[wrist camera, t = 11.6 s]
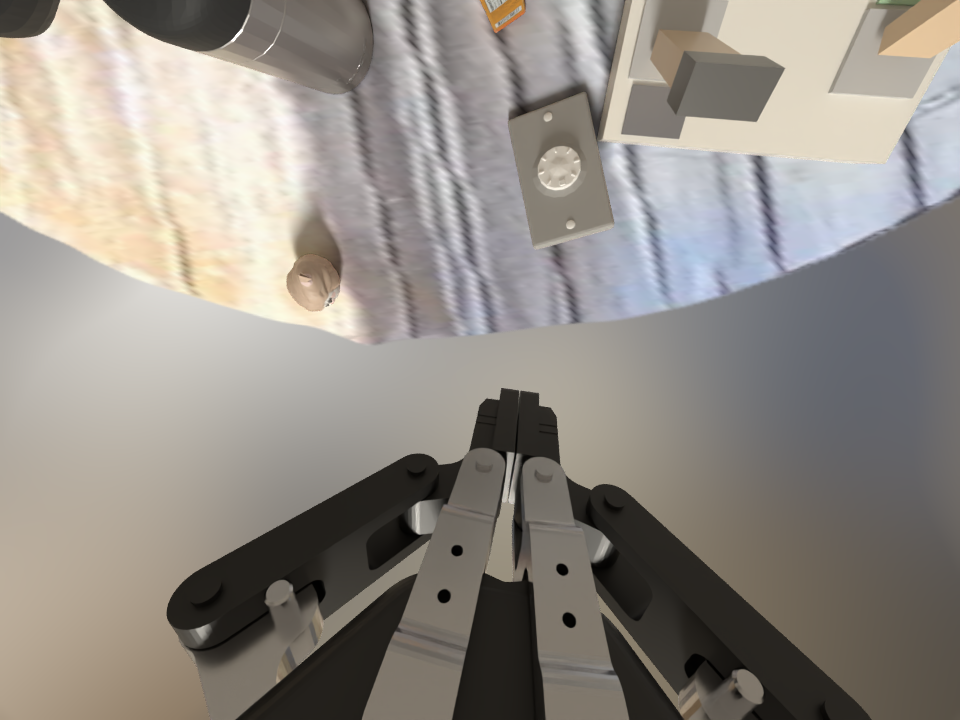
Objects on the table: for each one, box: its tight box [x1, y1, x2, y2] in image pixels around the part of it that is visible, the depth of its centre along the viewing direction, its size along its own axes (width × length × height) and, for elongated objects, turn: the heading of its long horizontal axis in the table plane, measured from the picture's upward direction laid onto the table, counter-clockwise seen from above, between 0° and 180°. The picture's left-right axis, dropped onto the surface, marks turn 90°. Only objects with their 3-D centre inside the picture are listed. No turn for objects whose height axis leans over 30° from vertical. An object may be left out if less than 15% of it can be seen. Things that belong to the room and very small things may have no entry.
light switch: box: [508, 92, 614, 250], centre depth 37 cm, size 8×5×13 cm
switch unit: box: [597, 0, 951, 164], centre depth 30 cm, size 14×24×4 cm, turn 86°
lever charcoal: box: [650, 29, 785, 122], centre depth 24 cm, size 2×4×14 cm, turn 85°
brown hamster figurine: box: [287, 254, 340, 311], centre depth 44 cm, size 7×6×8 cm
